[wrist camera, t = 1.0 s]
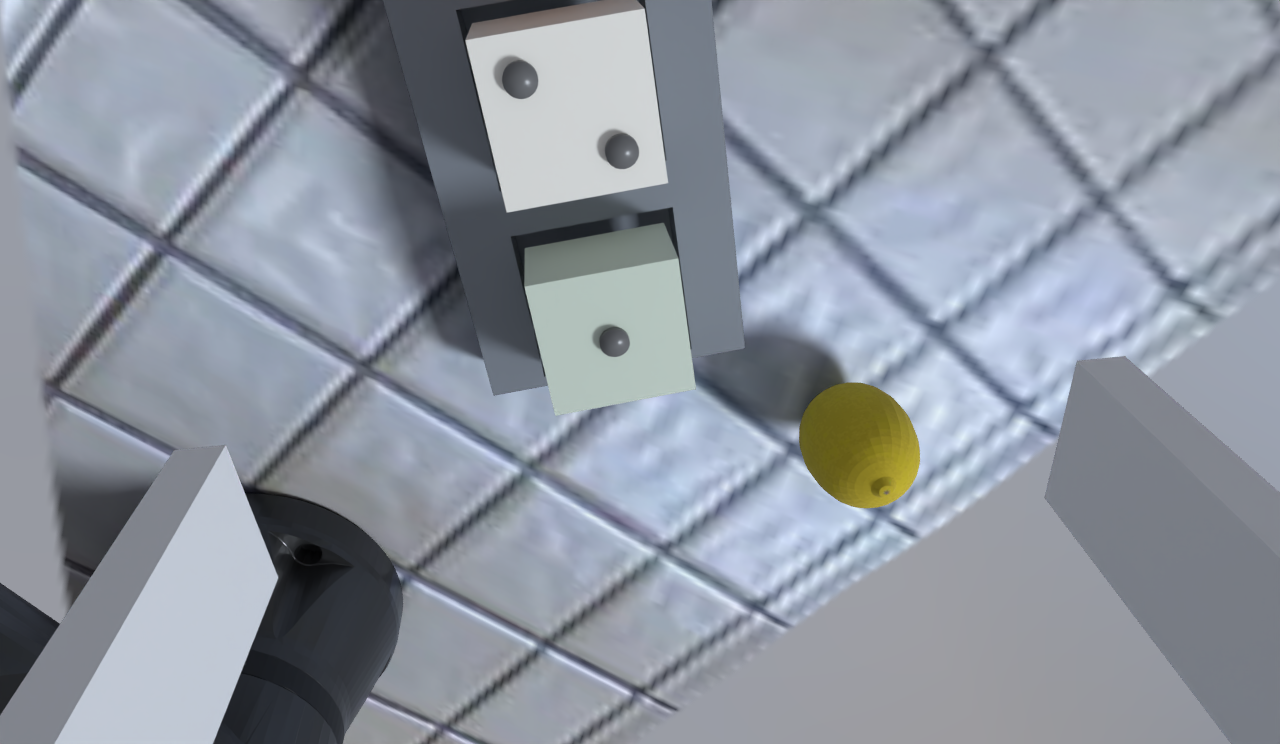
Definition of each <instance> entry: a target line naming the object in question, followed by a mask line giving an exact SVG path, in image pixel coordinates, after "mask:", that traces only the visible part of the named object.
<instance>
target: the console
mask: <svg viewBox="0 0 1280 744" xmlns="http://www.w3.org/2000/svg"><path fill="white" fill-rule="evenodd" d="M595 1H601V0H383V3H384V6H385V10H386V14H387V17H388V21H389V24H390V28H391V31H392V35H393V38H394V42H395V46H396V49H397V53H398V56H399V60H400V63H401V67H402V71H403V74H404V78H405V81H406V85H407V88H408V92H409V96H410V99H411V103H412V106H413V110H414V113H415V117H416V120H417V124H418V128H419V131H420V135H421V138H422V142H423V145H424V149H425V153H426V156H427V160H428V163H429V167H430V170H431V174H432V178H433V181H434V185H435V188H436V192H437V195H438V199H439V202H440V206H441V210H442V213H443V217H444V220H445V224H446V227H447V231H448V235H449V238H450V242H451V245H452V249H453V252H454V256H455V260H456V263H457V267H458V270H459V274H460V277H461V281H462V284H463V288H464V292H465V295H466V299H467V302H468V306H469V309H470V313H471V317H472V320H473V324H474V327H475V331H476V334H477V338H478V342H479V345H480V349H481V352H482V356H483V359H484V363H485V366H486V370H487V374H488V377H489V381H490V384H491V388H492V391H493V395H494V396H495V395H500V394H505V393H511V392H516V391H521V390H526V389H532V388H537V387H542V386H548V383H547V379H546V374H545V370H544V366H543V362H542V358H541V354H540V349H539V345H538V341H537V337H536V333H535V329H534V324H533V320H532V316H531V312H530V308H529V304H528V299H527V295H526V291H525V287H524V280H525V248H528V247H534V246H539V245H545V244H550V243H555V242H561V241H566V240H572V239H577V238H583V237H588V236H594V235H599V234H604V233H610V232H615V231H621V230H626V229H632V228H637V227H643V226H648V225H653V224H659V223H664V224H665V227H666V229H667V232H668V234H669V237H670V239H671V242H672V244H673V246H674V249H675V251H676V254H677V256H678V260H679V267H680V274H681V282H682V289H683V297H684V304H685V312H686V319H687V326H688V334H689V341H690V349H691V356H692V358H697V357H702V356H707V355H713V354H718V353H723V352H729V351H734V350H739V349H745V343H744V332H743V322H742V312H741V301H740V291H739V281H738V270H737V260H736V250H735V239H734V229H733V219H732V208H731V198H730V188H729V177H728V167H727V157H726V146H725V136H724V126H723V115H722V105H721V95H720V84H719V74H718V64H717V53H716V43H715V33H714V22H713V12H712V2H711V0H637V1H638V2H639V3H640V4H641V5H642V6H643V7H644V8H645V14H646V22H647V29H648V37H649V44H650V52H651V59H652V66H653V74H654V81H655V89H656V96H657V104H658V111H659V118H660V126H661V133H662V141H663V148H664V156H665V163H666V170H667V178H668V183H666V184H661V185H655V186H650V187H645V188H639V189H634V190H628V191H623V192H617V193H612V194H606V195H601V196H595V197H590V198H584V199H579V200H573V201H568V202H562V203H557V204H551V205H546V206H540V207H535V208H529V209H524V210H518V211H513V212H506V208H505V203H504V199H503V195H502V191H501V187H500V183H499V178H498V174H497V170H496V166H495V162H494V157H493V153H492V149H491V145H490V141H489V137H488V132H487V128H486V124H485V120H484V116H483V112H482V107H481V103H480V99H479V95H478V91H477V87H476V82H475V78H474V74H473V70H472V66H471V61H470V57H469V53H468V49H467V45H466V41H465V40H466V37H467V35H468V32H469V30H470V27H471V25H472V23H476V22H482V21H487V20H493V19H499V18H504V17H510V16H516V15H521V14H527V13H533V12H538V11H544V10H550V9H555V8H561V7H567V6H572V5H578V4H584V3H589V2H595Z"/></svg>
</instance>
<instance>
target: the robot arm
mask: <svg viewBox="0 0 1280 744" xmlns="http://www.w3.org/2000/svg"><path fill="white" fill-rule="evenodd" d="M1045 499H1046V500H1047V502H1048V503H1049V504H1050V506H1051V507H1052V508H1053V510H1054V511H1055V512H1056V514H1057V515H1058V516H1059V518H1060V519H1061V520H1062V522H1063V523H1064V524H1065V525H1066V527H1067V528H1068V529H1069V531H1070V532H1071V533H1072V535H1073V536H1074V537H1075V539H1076V540H1077V541H1078V542H1079V544H1080V545H1081V547H1082V548H1083V549H1084V551H1085V552H1086V553H1087V554H1088V556H1089V557H1090V558H1091V560H1092V561H1093V562H1094V564H1095V565H1096V566H1097V568H1098V569H1099V570H1100V572H1101V573H1102V574H1103V575H1104V577H1105V578H1106V579H1107V581H1108V582H1109V583H1110V585H1111V586H1112V587H1113V589H1114V590H1115V591H1116V593H1117V594H1118V595H1119V597H1120V598H1121V599H1122V600H1123V602H1124V603H1125V605H1126V606H1127V607H1128V609H1129V610H1130V611H1131V613H1132V614H1133V615H1134V617H1135V618H1136V619H1137V620H1138V622H1139V623H1140V624H1141V626H1142V627H1143V628H1144V629H1145V631H1146V632H1147V633H1148V635H1149V636H1150V638H1151V639H1152V640H1153V642H1154V643H1155V644H1156V645H1157V647H1158V648H1159V649H1160V651H1161V652H1162V653H1163V655H1164V656H1165V657H1166V659H1167V660H1168V661H1169V663H1170V664H1171V665H1172V667H1173V668H1174V669H1175V670H1176V672H1177V673H1178V675H1179V676H1180V677H1181V678H1182V680H1183V681H1184V682H1185V684H1186V685H1187V686H1188V688H1189V689H1190V690H1191V692H1192V693H1193V694H1194V696H1195V697H1196V698H1197V700H1198V701H1199V702H1200V703H1201V705H1202V706H1203V707H1204V709H1205V710H1206V711H1207V713H1208V714H1209V715H1210V717H1211V718H1212V719H1213V721H1214V722H1215V723H1216V725H1217V726H1218V727H1219V729H1220V730H1221V731H1222V733H1223V734H1224V735H1225V736H1226V738H1227V739H1228V740H1229V742H1230V743H1231V744H1280V492H1279V491H1277V490H1276V489H1275V488H1274V487H1273V486H1272V485H1270V483H1268V482H1267V481H1266V480H1265V479H1264V478H1263V477H1261V476H1260V475H1259V474H1258V473H1257V472H1256V471H1255V470H1254V469H1252V468H1251V467H1250V466H1249V465H1248V464H1247V463H1246V462H1244V461H1243V460H1242V459H1241V458H1240V457H1239V456H1238V455H1237V454H1235V453H1234V452H1233V451H1232V450H1231V449H1230V448H1228V447H1227V446H1226V445H1225V444H1224V443H1223V442H1222V441H1221V440H1219V439H1218V438H1217V437H1216V436H1215V435H1214V434H1213V433H1212V432H1210V431H1209V430H1208V429H1207V428H1206V427H1205V426H1204V425H1202V424H1201V423H1200V422H1199V421H1198V420H1197V419H1196V418H1194V417H1193V416H1192V415H1191V414H1190V413H1189V412H1188V411H1186V410H1185V409H1184V408H1183V407H1182V406H1181V405H1180V404H1179V403H1177V402H1176V401H1175V400H1174V399H1173V398H1172V397H1171V396H1169V395H1168V394H1167V393H1166V392H1165V391H1164V390H1163V389H1161V388H1160V387H1159V386H1158V385H1157V384H1156V383H1154V382H1153V381H1152V380H1151V379H1150V378H1149V377H1148V376H1147V375H1146V374H1144V373H1143V372H1142V371H1141V370H1140V369H1139V368H1138V367H1136V366H1135V365H1134V364H1133V363H1132V362H1131V361H1130V360H1128V359H1127V358H1126V357H1125V356H1122V357H1112V358H1102V359H1092V360H1082V361H1077V363H1076V367H1075V371H1074V375H1073V380H1072V384H1071V388H1070V392H1069V396H1068V401H1067V405H1066V409H1065V413H1064V417H1063V422H1062V426H1061V430H1060V434H1059V439H1058V443H1057V447H1056V451H1055V455H1054V460H1053V464H1052V468H1051V473H1050V477H1049V481H1048V485H1047V490H1046V493H1045ZM402 611H403V594H402V588H401V584H400V581H399V578H398V575H397V573H396V570H395V568H394V566H393V565H392V563H391V561H390V560H389V558H388V557H387V555H386V554H385V553H384V551H383V550H382V549H381V548H380V546H379V545H378V544H377V543H376V542H375V541H374V540H373V539H372V538H371V537H369V536H368V535H367V534H366V533H365V532H363V531H362V530H361V529H360V528H358V527H357V526H355V525H354V524H352V523H351V522H349V521H348V520H346V519H344V518H342V517H341V516H339V515H337V514H335V513H333V512H331V511H328V510H326V509H324V508H321V507H319V506H316V505H313V504H310V503H307V502H304V501H300V500H296V499H292V498H287V497H282V496H275V495H268V494H249V493H245V492H244V490H243V487H242V485H241V482H240V480H239V477H238V475H237V472H236V470H235V467H234V465H233V462H232V459H231V457H230V454H229V452H228V449H227V447H226V445H221V446H211V447H201V448H191V449H180V450H174V451H173V453H172V454H171V456H170V457H169V459H168V460H167V462H166V463H165V465H164V467H163V468H162V470H161V471H160V473H159V474H158V476H157V477H156V479H155V480H154V482H153V483H152V485H151V486H150V488H149V489H148V491H147V492H146V494H145V495H144V497H143V499H142V500H141V502H140V503H139V505H138V506H137V508H136V509H135V511H134V512H133V514H132V515H131V517H130V518H129V520H128V521H127V523H126V524H125V526H124V527H123V529H122V531H121V532H120V534H119V535H118V537H117V538H116V540H115V541H114V543H113V544H112V546H111V547H110V549H109V550H108V552H107V553H106V555H105V556H104V558H103V559H102V561H101V563H100V564H99V566H98V567H97V569H96V570H95V572H94V573H93V575H92V576H91V578H90V579H89V581H88V582H87V584H86V585H85V587H84V588H83V590H82V591H81V593H80V595H79V596H78V598H77V599H76V601H75V602H74V604H73V605H72V607H71V608H70V610H69V611H68V613H67V614H66V616H65V617H64V619H63V621H62V622H61V623H60V624H59V623H58V622H56V621H55V620H53V619H52V618H51V617H49V616H48V615H46V614H45V613H43V612H42V611H40V610H39V609H37V608H36V607H35V606H33V605H31V604H30V603H28V602H27V601H26V600H24V599H23V598H21V597H20V596H18V595H17V594H15V593H14V592H12V591H11V590H10V589H8V588H7V587H5V586H4V585H2V584H1V583H0V744H343V740H344V736H345V733H346V731H347V730H348V728H349V726H350V725H351V723H352V722H353V720H354V718H355V717H356V715H357V714H358V712H359V710H360V709H361V707H362V706H363V704H364V702H365V701H366V699H367V697H368V695H369V694H370V692H371V690H372V689H373V687H374V685H375V683H376V682H377V680H378V678H379V677H380V676H381V675H382V673H383V672H384V671H385V669H386V668H387V666H388V664H389V662H390V660H391V658H392V655H393V653H394V650H395V647H396V644H397V640H398V634H399V628H400V623H401V617H402Z"/></svg>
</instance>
